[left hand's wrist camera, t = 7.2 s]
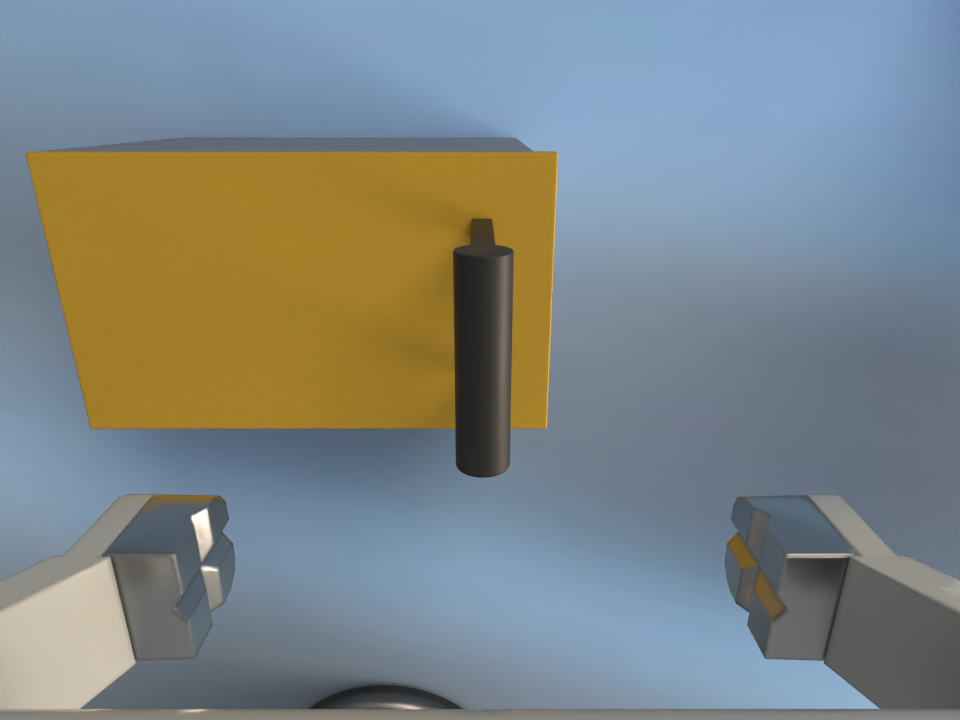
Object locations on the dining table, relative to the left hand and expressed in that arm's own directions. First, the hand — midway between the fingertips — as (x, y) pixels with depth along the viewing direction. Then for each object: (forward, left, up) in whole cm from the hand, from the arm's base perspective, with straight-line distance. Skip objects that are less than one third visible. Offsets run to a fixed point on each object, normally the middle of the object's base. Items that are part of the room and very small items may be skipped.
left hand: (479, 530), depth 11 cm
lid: (+3, -5, -14) cm, 15 cm away
